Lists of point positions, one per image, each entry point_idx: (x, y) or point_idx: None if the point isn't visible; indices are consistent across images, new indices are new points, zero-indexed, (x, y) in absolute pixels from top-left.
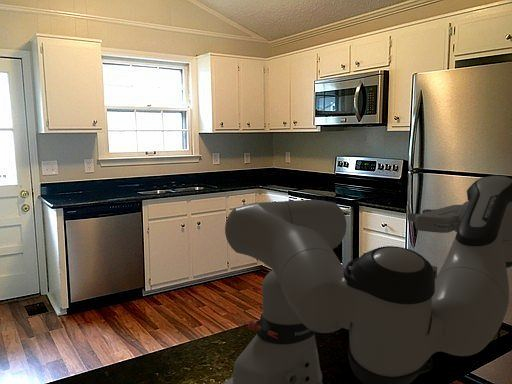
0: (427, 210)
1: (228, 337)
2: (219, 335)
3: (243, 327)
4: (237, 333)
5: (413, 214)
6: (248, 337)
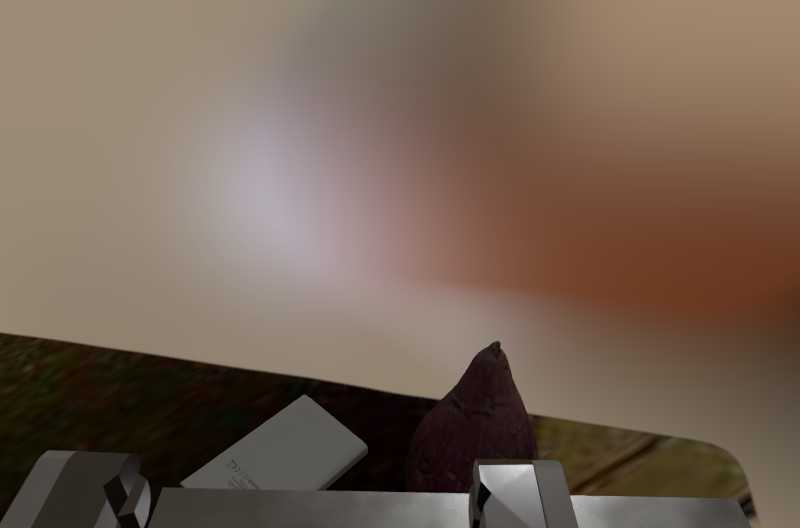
0: (485, 522)
1: (3, 360)
2: (8, 340)
3: (83, 348)
4: (38, 360)
5: (5, 524)
6: (21, 391)
